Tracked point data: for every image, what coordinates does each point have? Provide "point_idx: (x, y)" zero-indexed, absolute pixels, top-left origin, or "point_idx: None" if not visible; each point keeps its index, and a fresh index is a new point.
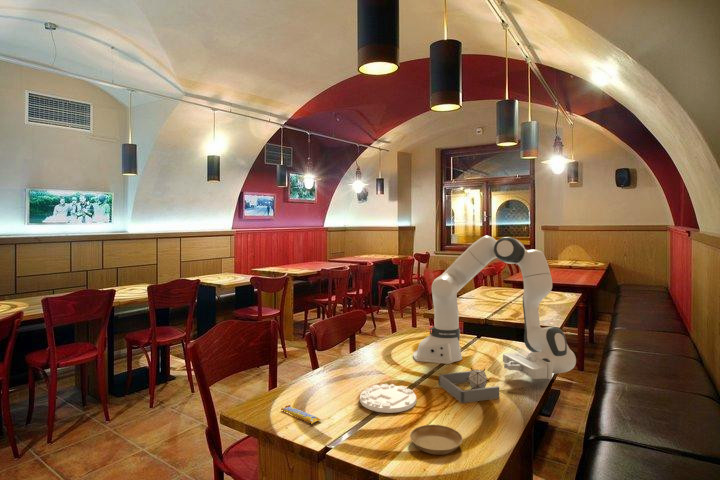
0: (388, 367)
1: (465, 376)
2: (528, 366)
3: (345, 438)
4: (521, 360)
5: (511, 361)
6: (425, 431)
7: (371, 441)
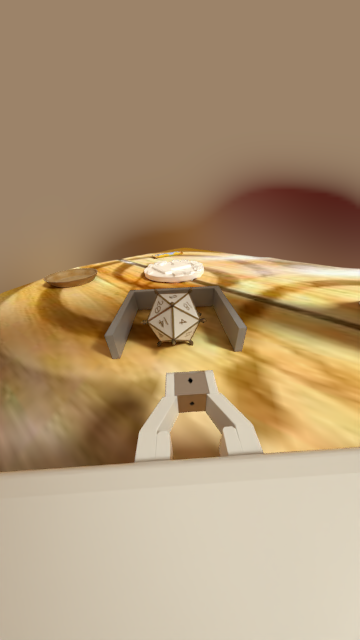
0: (293, 280)
1: (228, 321)
2: (11, 484)
3: (126, 262)
4: (218, 557)
5: (244, 429)
6: (94, 277)
7: (112, 266)
